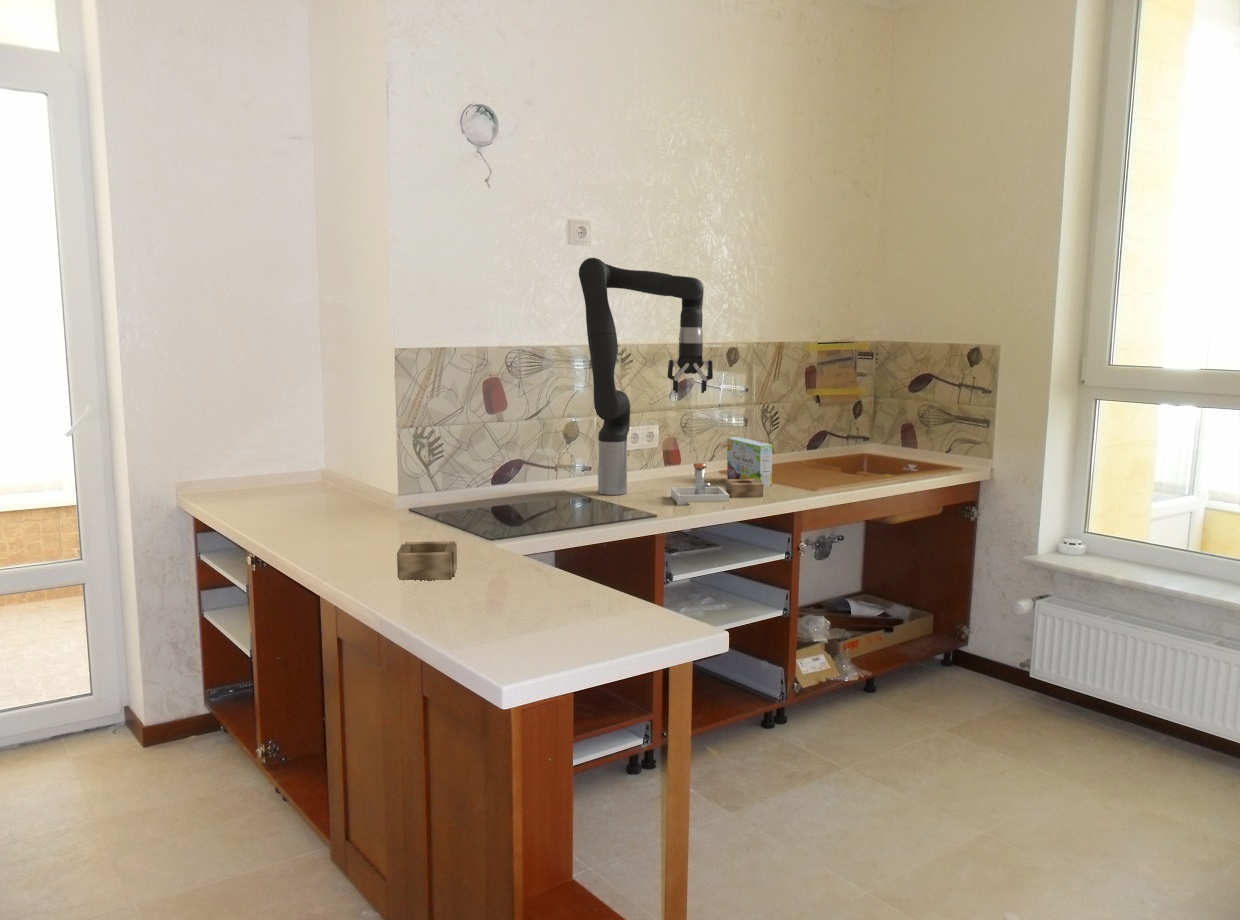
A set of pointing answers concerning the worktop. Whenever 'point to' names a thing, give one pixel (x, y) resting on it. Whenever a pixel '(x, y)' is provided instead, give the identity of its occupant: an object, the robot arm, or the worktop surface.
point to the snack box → (749, 460)
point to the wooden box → (744, 488)
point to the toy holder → (427, 560)
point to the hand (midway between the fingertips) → (689, 392)
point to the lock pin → (699, 478)
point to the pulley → (709, 485)
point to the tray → (713, 495)
